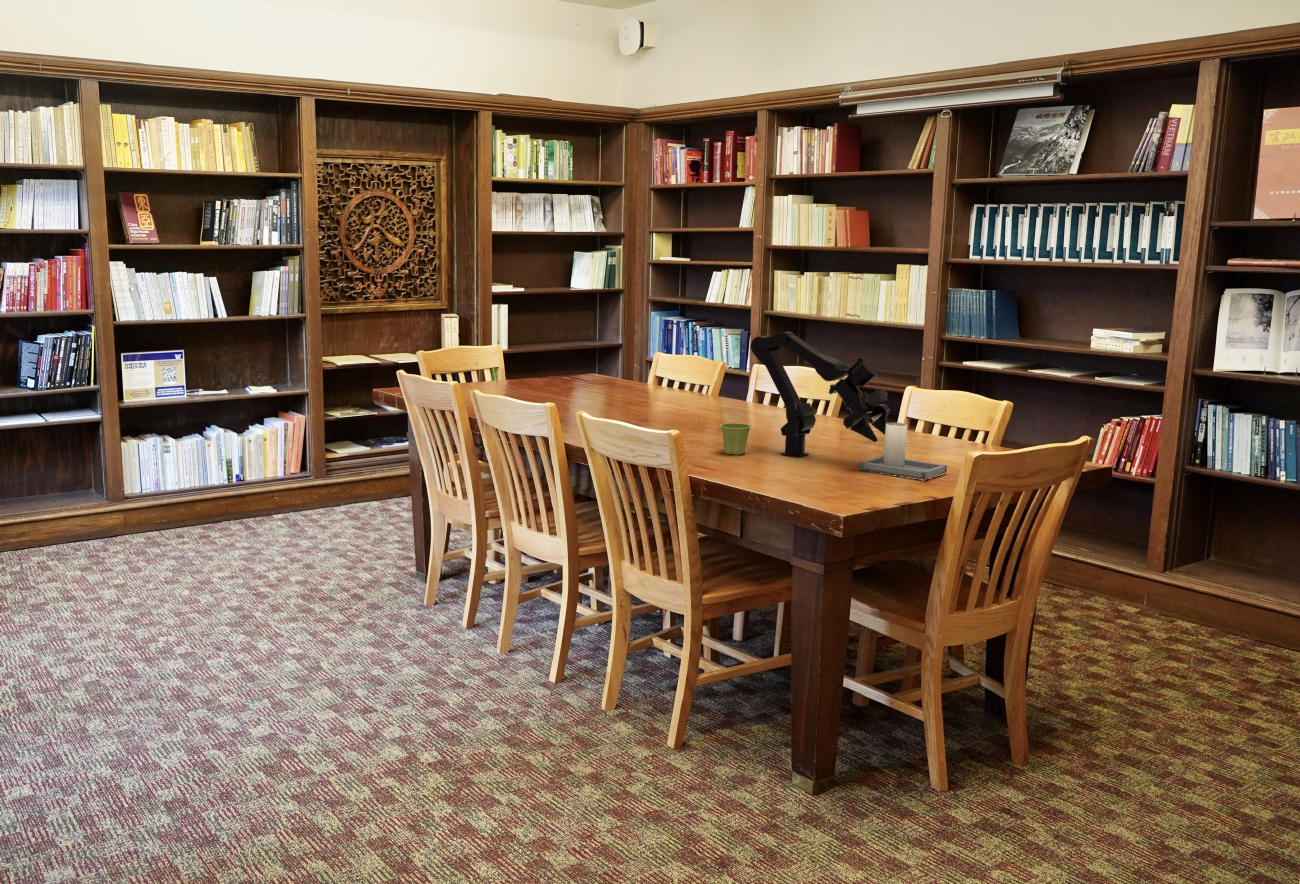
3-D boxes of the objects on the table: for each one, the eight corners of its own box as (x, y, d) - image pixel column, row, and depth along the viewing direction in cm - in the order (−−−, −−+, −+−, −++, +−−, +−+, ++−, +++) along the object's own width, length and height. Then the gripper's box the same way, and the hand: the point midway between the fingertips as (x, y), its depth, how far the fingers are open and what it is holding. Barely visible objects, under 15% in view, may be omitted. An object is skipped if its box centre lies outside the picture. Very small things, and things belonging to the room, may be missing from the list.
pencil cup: (892, 470, 316) (895, 426, 314) (878, 466, 321) (881, 423, 319) (908, 468, 319) (911, 425, 316) (894, 464, 324) (897, 422, 322)
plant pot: (724, 457, 334) (726, 428, 332) (714, 451, 343) (715, 423, 341) (754, 456, 336) (755, 427, 335) (743, 450, 345) (744, 422, 344)
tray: (924, 481, 307) (925, 472, 306) (859, 470, 319) (860, 462, 319) (946, 474, 317) (947, 465, 317) (882, 463, 330) (883, 455, 329)
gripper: (855, 382, 314) (888, 426, 309) (886, 376, 328) (918, 418, 323) (829, 406, 320) (860, 449, 315) (860, 400, 334) (891, 441, 330)
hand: (883, 439), depth 321 cm, fingers open, 9 cm apart
